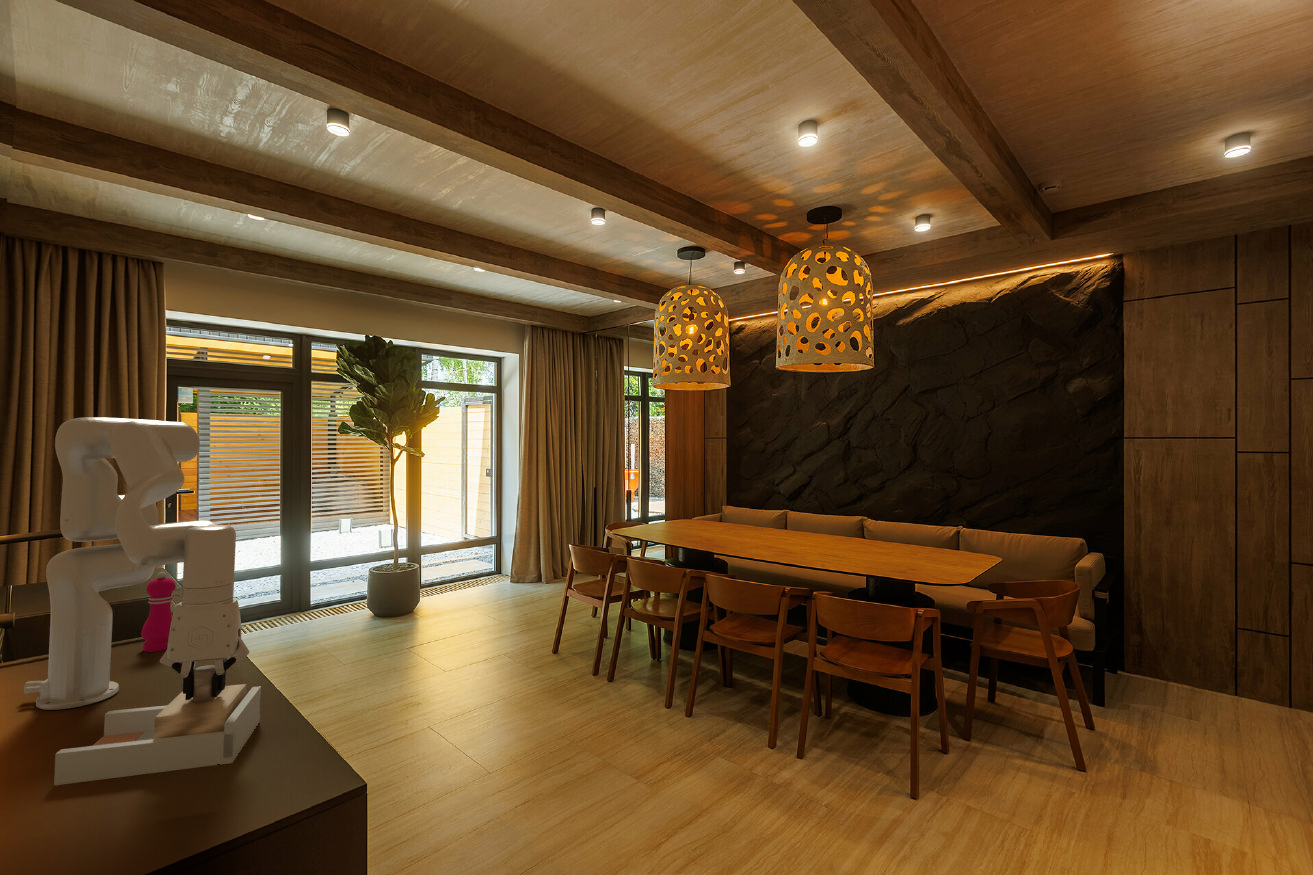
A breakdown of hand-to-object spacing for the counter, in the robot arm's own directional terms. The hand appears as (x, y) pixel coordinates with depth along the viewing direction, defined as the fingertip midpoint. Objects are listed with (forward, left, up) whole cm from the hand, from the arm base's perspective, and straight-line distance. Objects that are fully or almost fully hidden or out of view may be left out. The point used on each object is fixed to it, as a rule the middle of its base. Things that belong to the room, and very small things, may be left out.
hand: (204, 694), depth 108 cm
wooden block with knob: (0, 0, -8) cm, 8 cm away
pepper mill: (-30, +63, -9) cm, 70 cm away
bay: (-5, 0, -9) cm, 11 cm away
